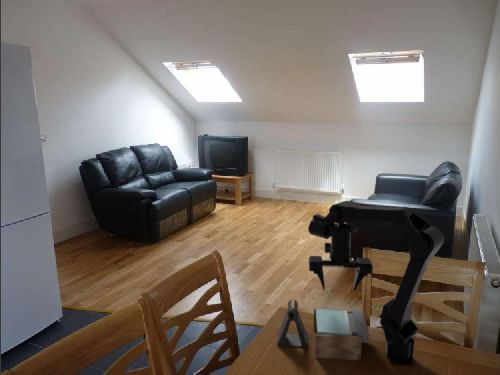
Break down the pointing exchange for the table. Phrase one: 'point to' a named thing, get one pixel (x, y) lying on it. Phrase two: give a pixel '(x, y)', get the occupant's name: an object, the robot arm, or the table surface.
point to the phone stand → (283, 337)
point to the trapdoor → (342, 323)
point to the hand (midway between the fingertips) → (338, 289)
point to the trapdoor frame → (337, 344)
